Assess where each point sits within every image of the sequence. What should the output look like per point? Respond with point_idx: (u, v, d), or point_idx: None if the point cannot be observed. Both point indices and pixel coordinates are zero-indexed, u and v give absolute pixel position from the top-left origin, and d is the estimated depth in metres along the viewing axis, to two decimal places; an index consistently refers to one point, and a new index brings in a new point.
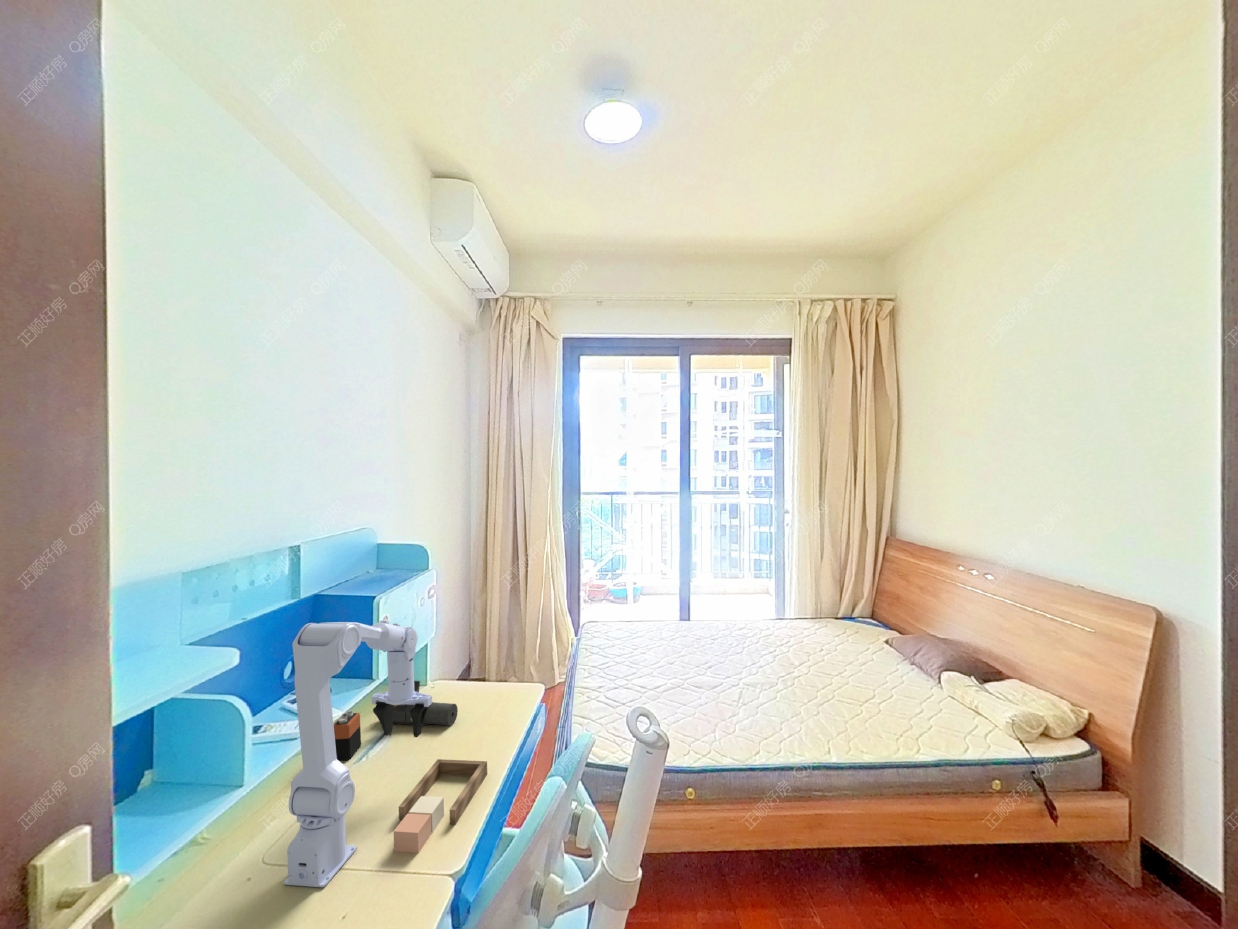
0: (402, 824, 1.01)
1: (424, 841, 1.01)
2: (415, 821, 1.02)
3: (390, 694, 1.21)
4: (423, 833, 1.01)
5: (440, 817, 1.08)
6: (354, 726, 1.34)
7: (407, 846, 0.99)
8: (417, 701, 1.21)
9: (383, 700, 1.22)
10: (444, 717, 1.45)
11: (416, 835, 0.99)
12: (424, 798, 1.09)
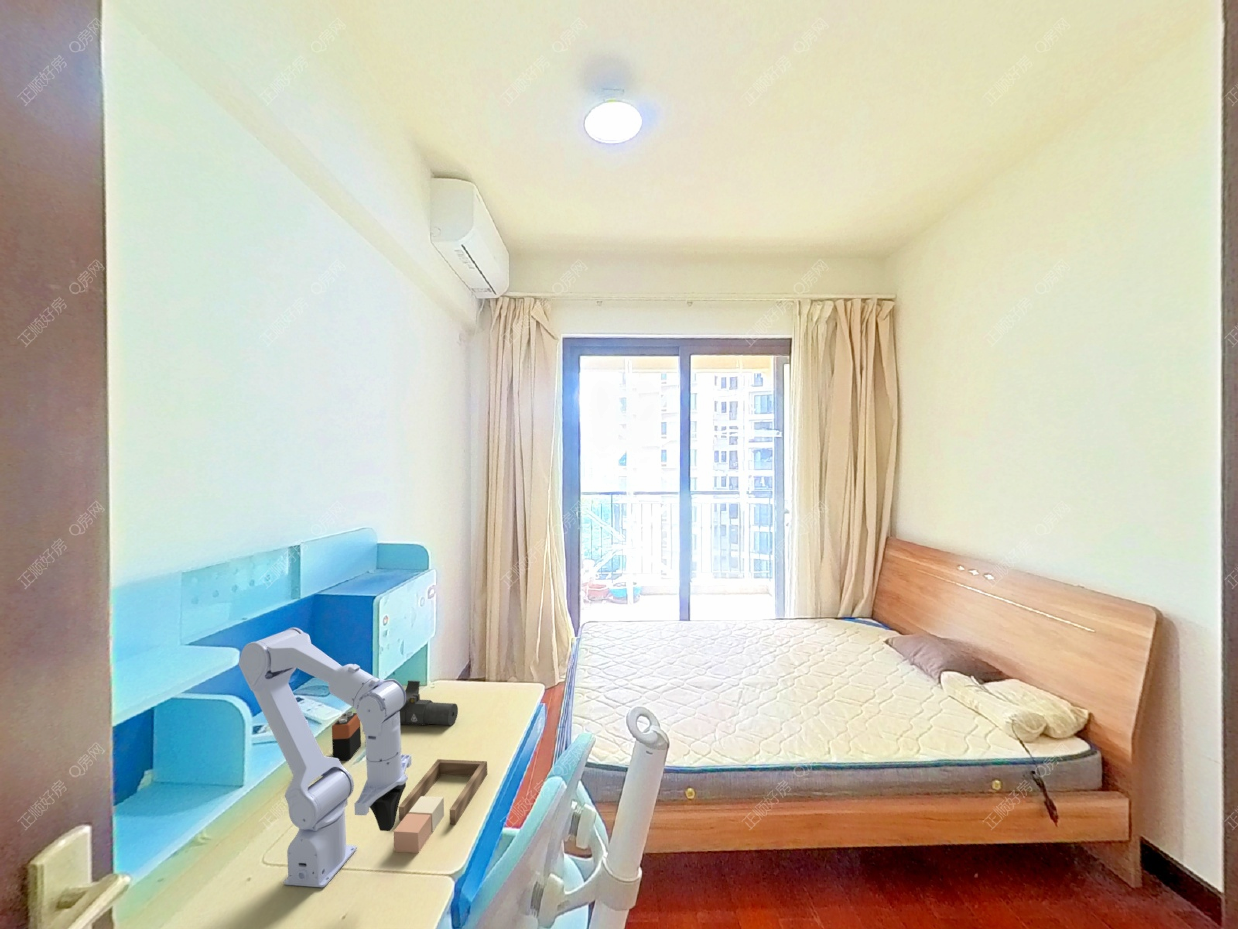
0: (402, 824, 1.01)
1: (424, 841, 1.01)
2: (415, 821, 1.02)
3: None
4: (424, 833, 1.01)
5: (440, 817, 1.08)
6: (354, 726, 1.34)
7: (407, 846, 0.99)
8: (360, 797, 0.88)
9: None
10: (444, 717, 1.45)
11: (416, 835, 0.99)
12: (424, 798, 1.09)
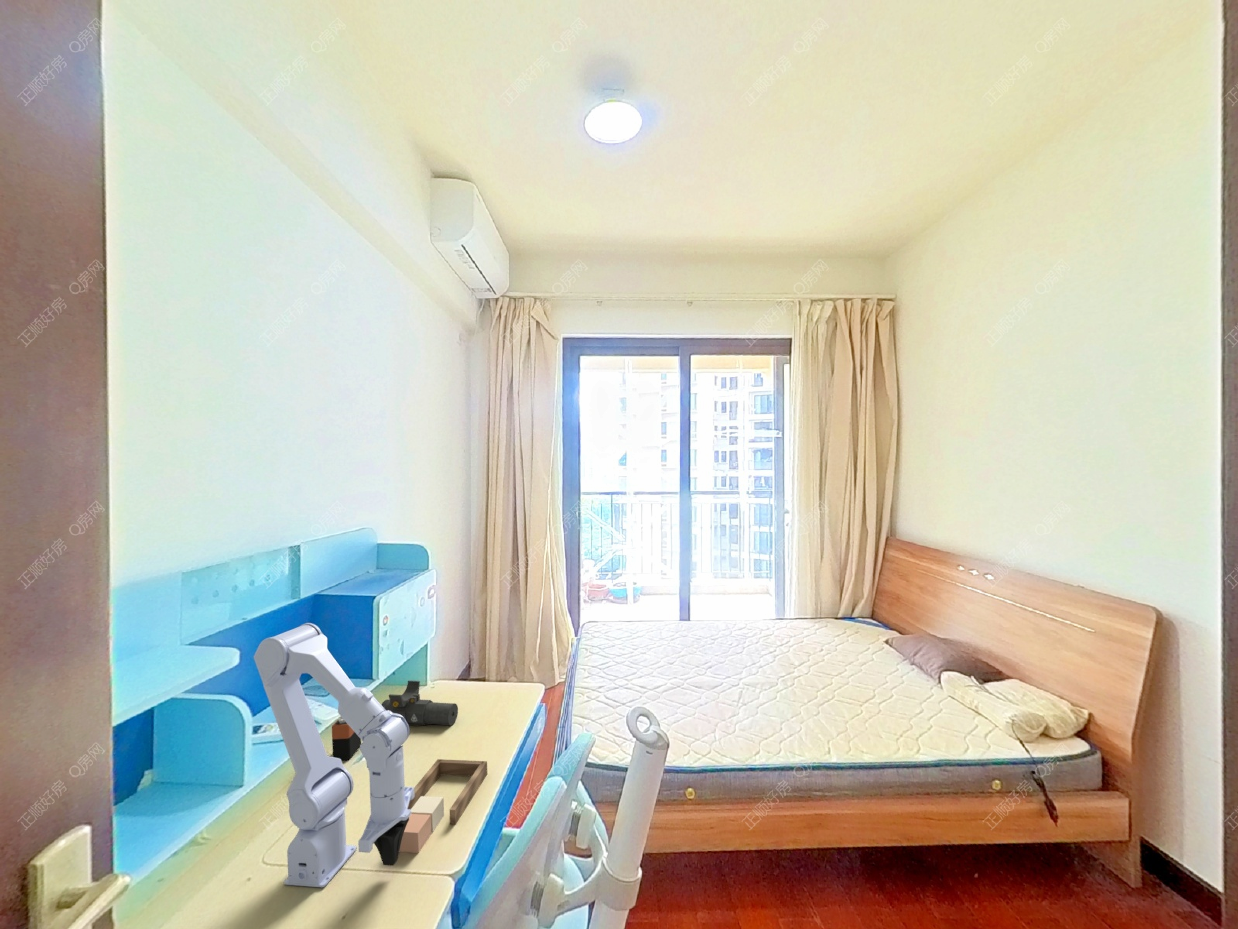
0: None
1: (424, 841, 1.01)
2: (415, 821, 1.02)
3: None
4: (423, 833, 1.01)
5: (440, 817, 1.08)
6: None
7: (407, 846, 0.99)
8: None
9: None
10: (444, 717, 1.45)
11: (416, 835, 0.99)
12: (424, 798, 1.09)
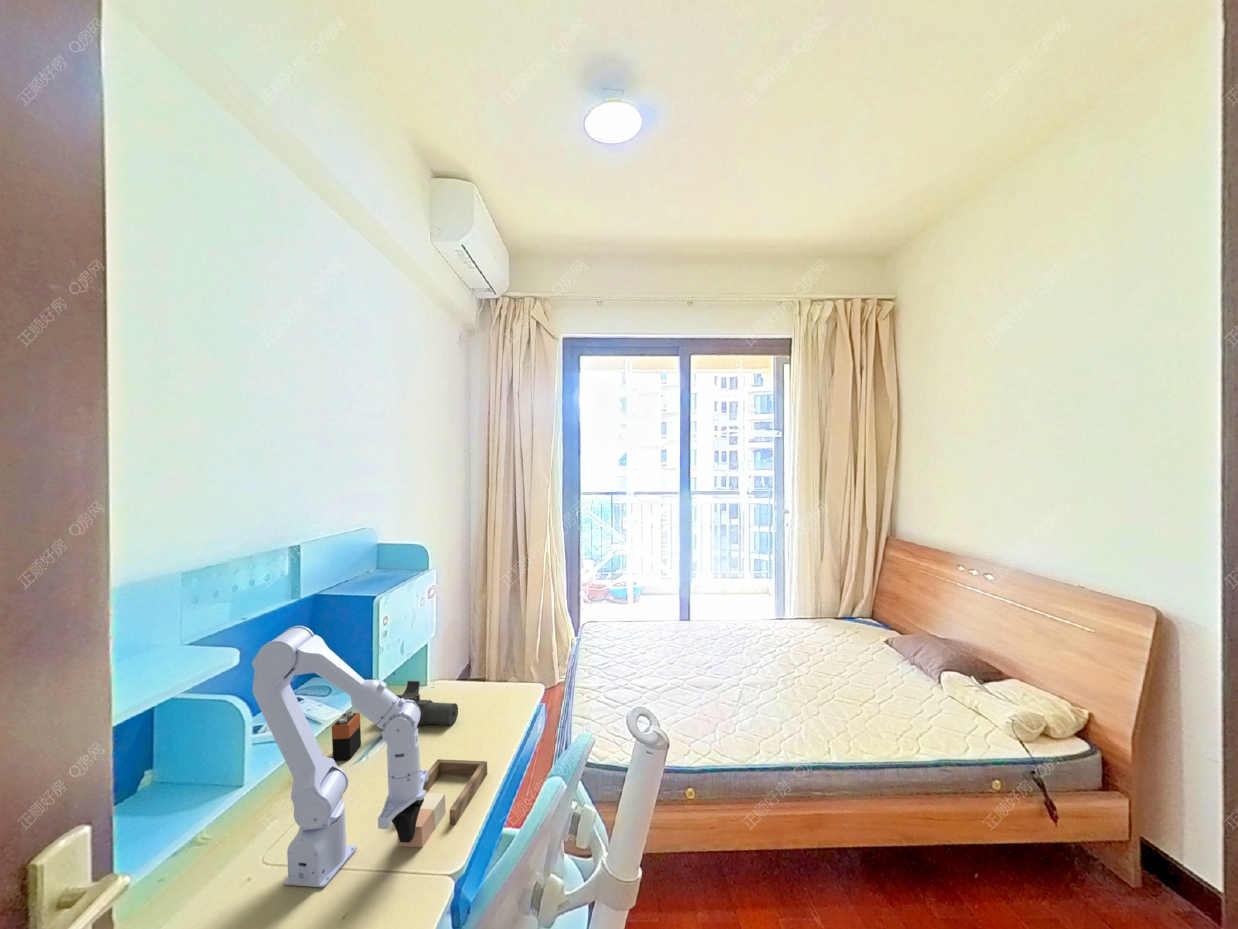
0: None
1: (427, 835, 1.03)
2: (418, 816, 1.03)
3: None
4: (427, 828, 1.02)
5: (442, 813, 1.09)
6: (354, 726, 1.34)
7: (411, 840, 1.01)
8: None
9: None
10: (445, 717, 1.45)
11: (420, 829, 1.00)
12: None
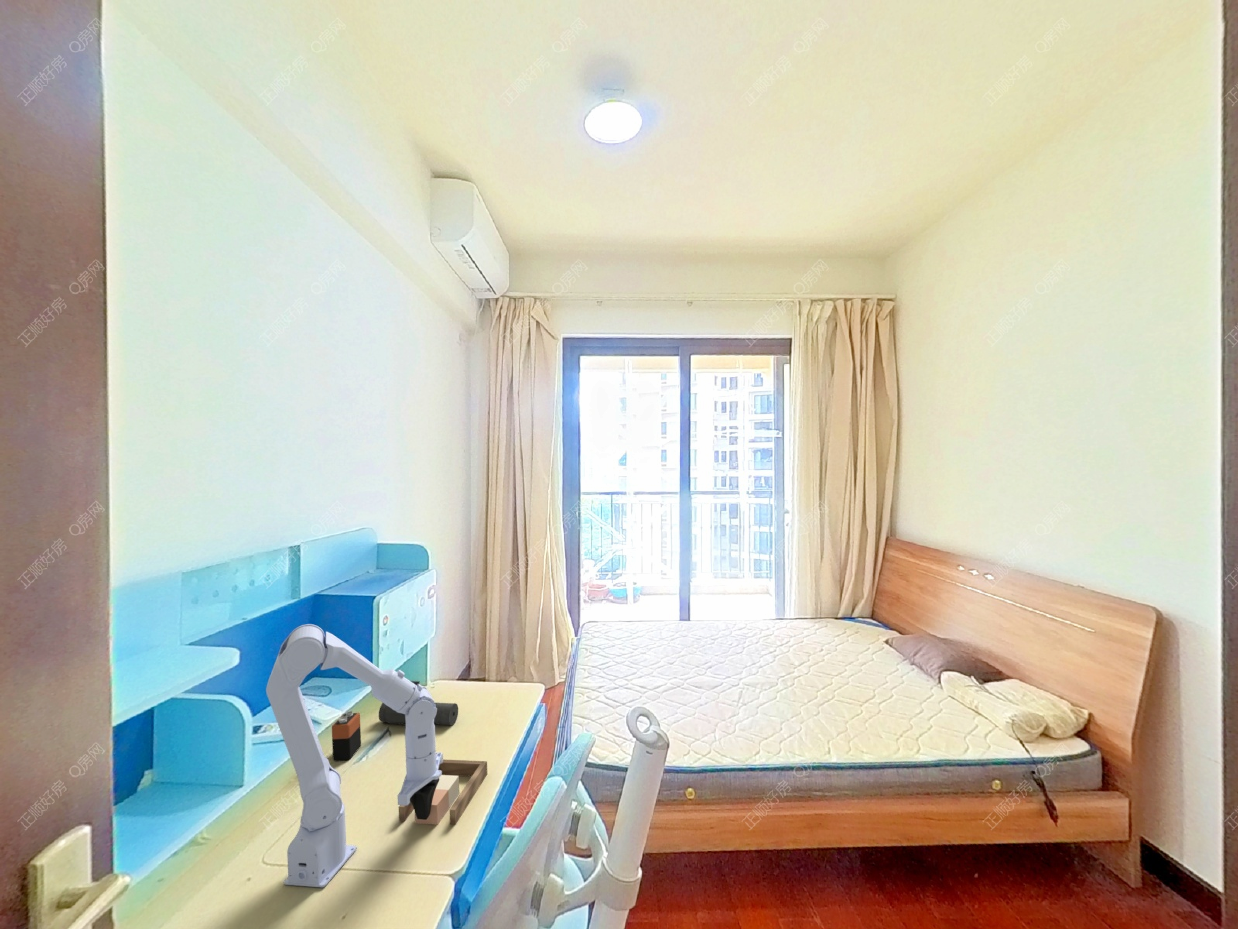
0: None
1: (442, 813, 1.09)
2: (434, 795, 1.10)
3: None
4: (442, 806, 1.09)
5: (456, 794, 1.15)
6: (354, 726, 1.34)
7: None
8: None
9: None
10: (445, 717, 1.45)
11: (435, 807, 1.07)
12: (440, 776, 1.16)
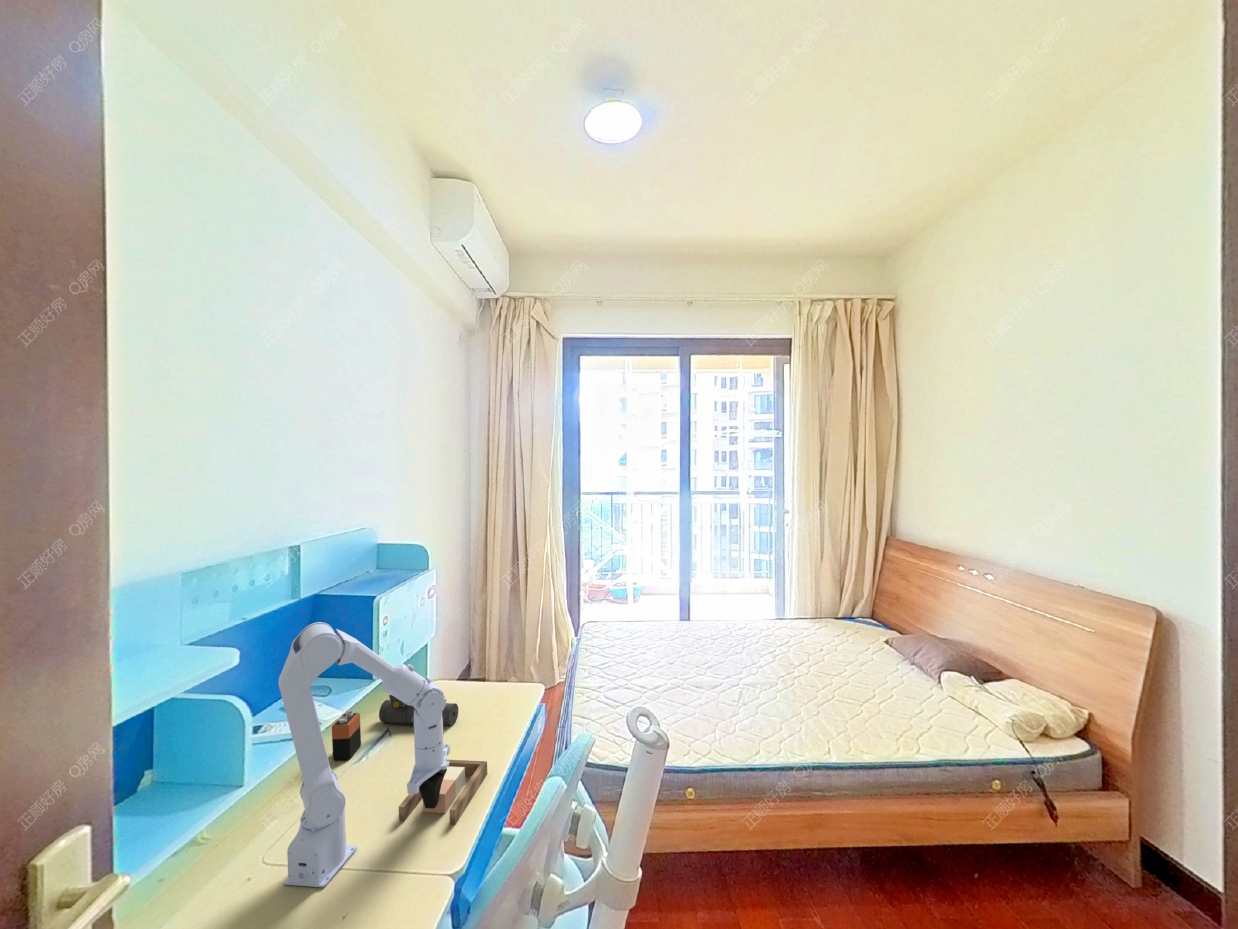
0: None
1: (450, 802, 1.12)
2: (441, 785, 1.13)
3: None
4: (449, 796, 1.12)
5: (462, 785, 1.18)
6: (354, 726, 1.34)
7: None
8: (411, 779, 1.04)
9: None
10: (445, 717, 1.45)
11: (443, 796, 1.10)
12: (447, 768, 1.20)
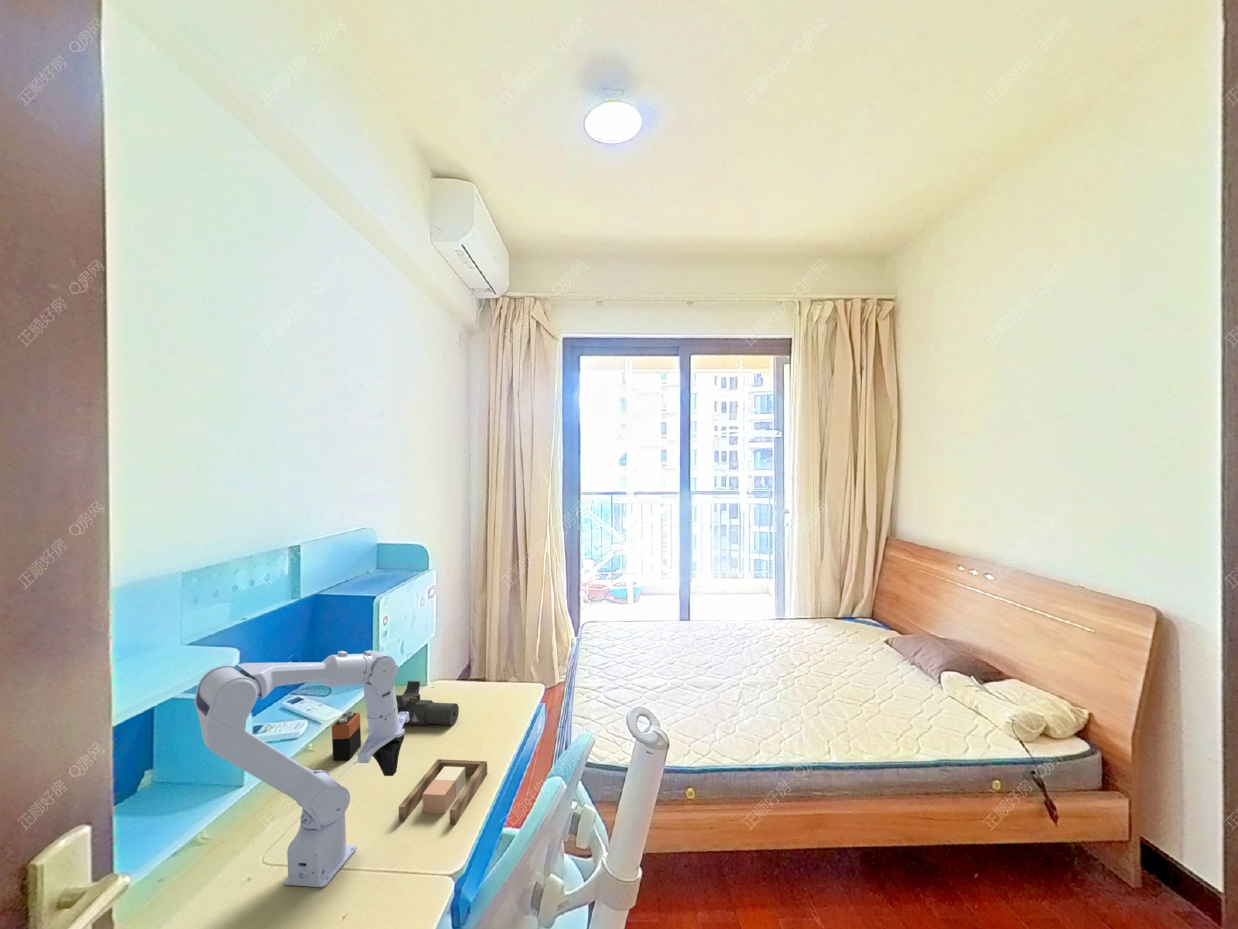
0: (429, 788, 1.13)
1: (450, 803, 1.12)
2: (441, 786, 1.13)
3: None
4: (449, 796, 1.12)
5: (462, 785, 1.18)
6: (354, 726, 1.34)
7: (435, 807, 1.10)
8: None
9: None
10: (445, 717, 1.45)
11: (443, 797, 1.10)
12: (447, 768, 1.20)
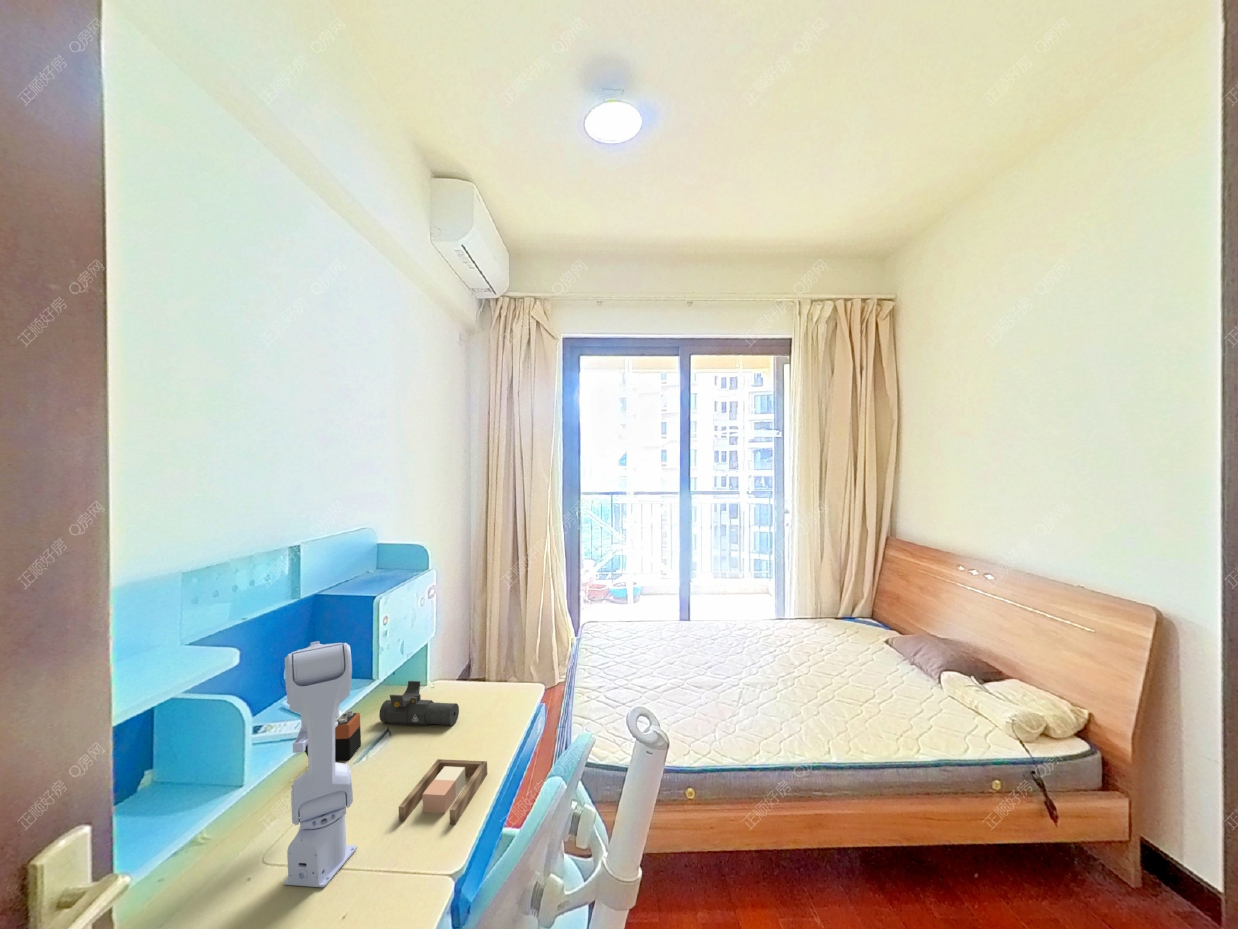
0: (430, 788, 1.13)
1: (450, 803, 1.12)
2: (441, 786, 1.13)
3: None
4: (449, 796, 1.12)
5: (462, 785, 1.18)
6: (354, 726, 1.34)
7: (435, 807, 1.10)
8: None
9: None
10: (446, 717, 1.45)
11: (443, 797, 1.10)
12: (447, 768, 1.20)
